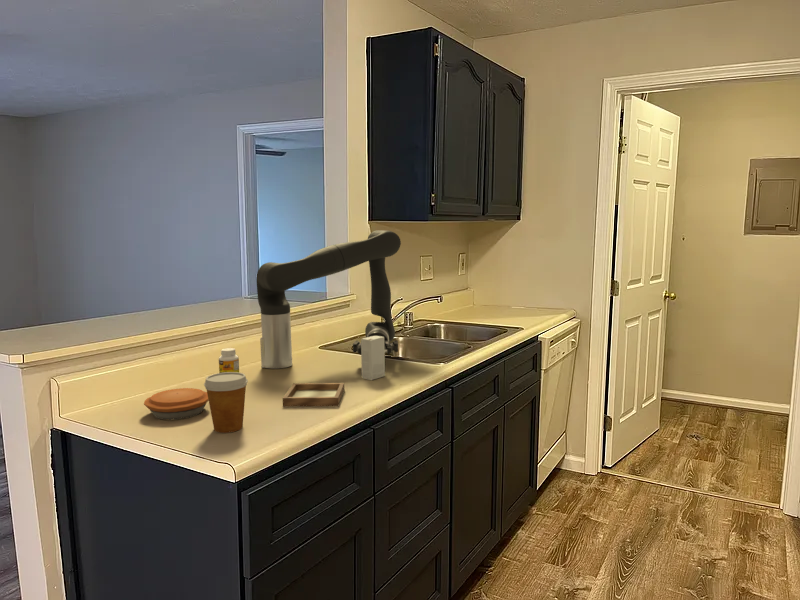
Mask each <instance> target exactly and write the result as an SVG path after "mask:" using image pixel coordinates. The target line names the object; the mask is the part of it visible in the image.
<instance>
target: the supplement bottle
mask: <svg viewBox="0 0 800 600" xmlns="http://www.w3.org/2000/svg"><path fill="white" fill-rule="evenodd" d="M236 353H237V351H236V348H234V347H233V348H232V347H227V348H222V349H221V350H220V354H221V355H220V356H219V357H218V370H219V371H218V373H224V372H239V373H240V358H239V356H238V355H237V354H236Z"/></svg>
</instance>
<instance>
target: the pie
mask: <svg viewBox="0 0 800 600" xmlns="http://www.w3.org/2000/svg"><path fill="white" fill-rule="evenodd" d="M207 403H209V400H208V395H207V391H203V390H202V389H199V388H194V387H193V388H192V387H189V388H188V387H187V388H186V387H183V388H181V387H180V388H173V389H167V390H162V391H159V392H156V393H154V394H152V395H150V396H149V397H147V398H146V399H145V400H144V403H143V405H144V406H145V407H146V408H147V409H148V410H149V411H150V412H151V413H152V415H153V416H154V417H155V418H156V419H159V420H164V419H165V420H166V419H169V420H170V421H171V419H174V420H182V419H187V418H192V417H194V416H197V415H199V414H201V413H202V412H203V411H204V409H205V407H206V405H207Z"/></svg>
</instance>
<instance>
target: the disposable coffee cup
mask: <svg viewBox="0 0 800 600" xmlns="http://www.w3.org/2000/svg"><path fill="white" fill-rule="evenodd" d="M248 382H249V380H248V379H247V377H246V374H245V373H243V372H240V371H239V372H224V373H219V372H217V373H213V374H211V375H208V376H206V377H205V382H204V383H203V386H204V388H205V390H206V392H207V395H208V400H209V401H208V406H209V410H210V415H211V419H212V420H211V421H212V425H213V431H215V433H220V434H221V433H222V434H226V433H227V434H229V433H235V432H237V431H240V430H242V428H243V426H244V413H245V399H246V388H247V385H248Z"/></svg>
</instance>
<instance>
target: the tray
mask: <svg viewBox="0 0 800 600" xmlns="http://www.w3.org/2000/svg"><path fill="white" fill-rule="evenodd" d="M344 393H345V383H344V382H319V383H318V382H313V383H312V382H306V383H305V382H301V383H300V382H297V383H296V382H295V383H294V382H293V383H292V384H291V386H290V387H289V388H288V389H287V392H286V393H285V394H284V396H283V397H282V407H283V408H285V407H298V408H299V407H339V406H338V405H340V403H341V400H342V397H343V396H344Z"/></svg>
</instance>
